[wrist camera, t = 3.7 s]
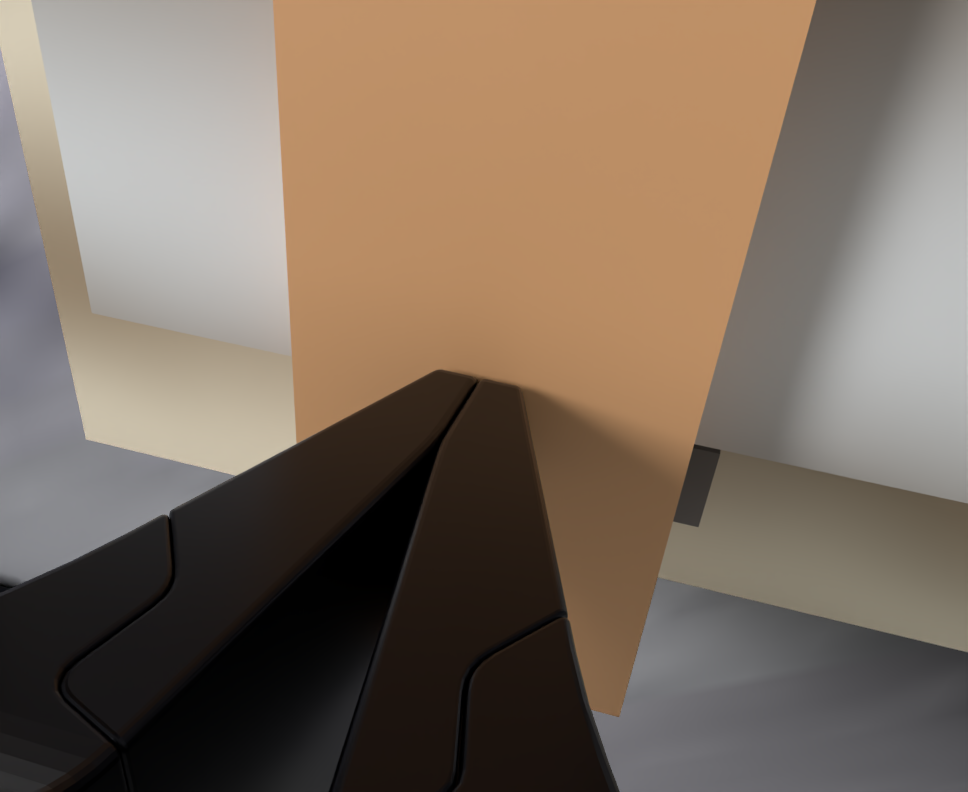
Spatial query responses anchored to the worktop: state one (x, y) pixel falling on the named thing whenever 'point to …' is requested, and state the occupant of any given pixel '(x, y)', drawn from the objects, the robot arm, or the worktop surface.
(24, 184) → the worktop surface
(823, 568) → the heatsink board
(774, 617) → the worktop surface
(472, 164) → the tan wooden bar
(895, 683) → the worktop surface
